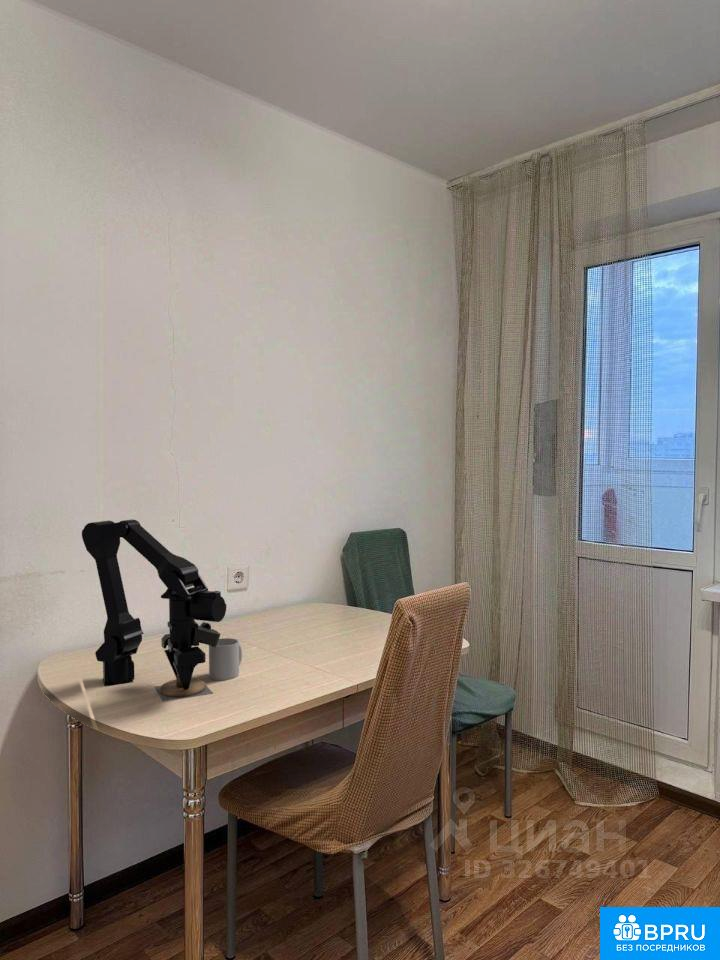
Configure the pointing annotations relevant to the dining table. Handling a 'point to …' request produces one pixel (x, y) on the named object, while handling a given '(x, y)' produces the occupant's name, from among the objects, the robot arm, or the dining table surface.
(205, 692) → the mat
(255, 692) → the dining table surface
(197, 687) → the lid
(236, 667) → the cup
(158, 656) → the dining table surface
